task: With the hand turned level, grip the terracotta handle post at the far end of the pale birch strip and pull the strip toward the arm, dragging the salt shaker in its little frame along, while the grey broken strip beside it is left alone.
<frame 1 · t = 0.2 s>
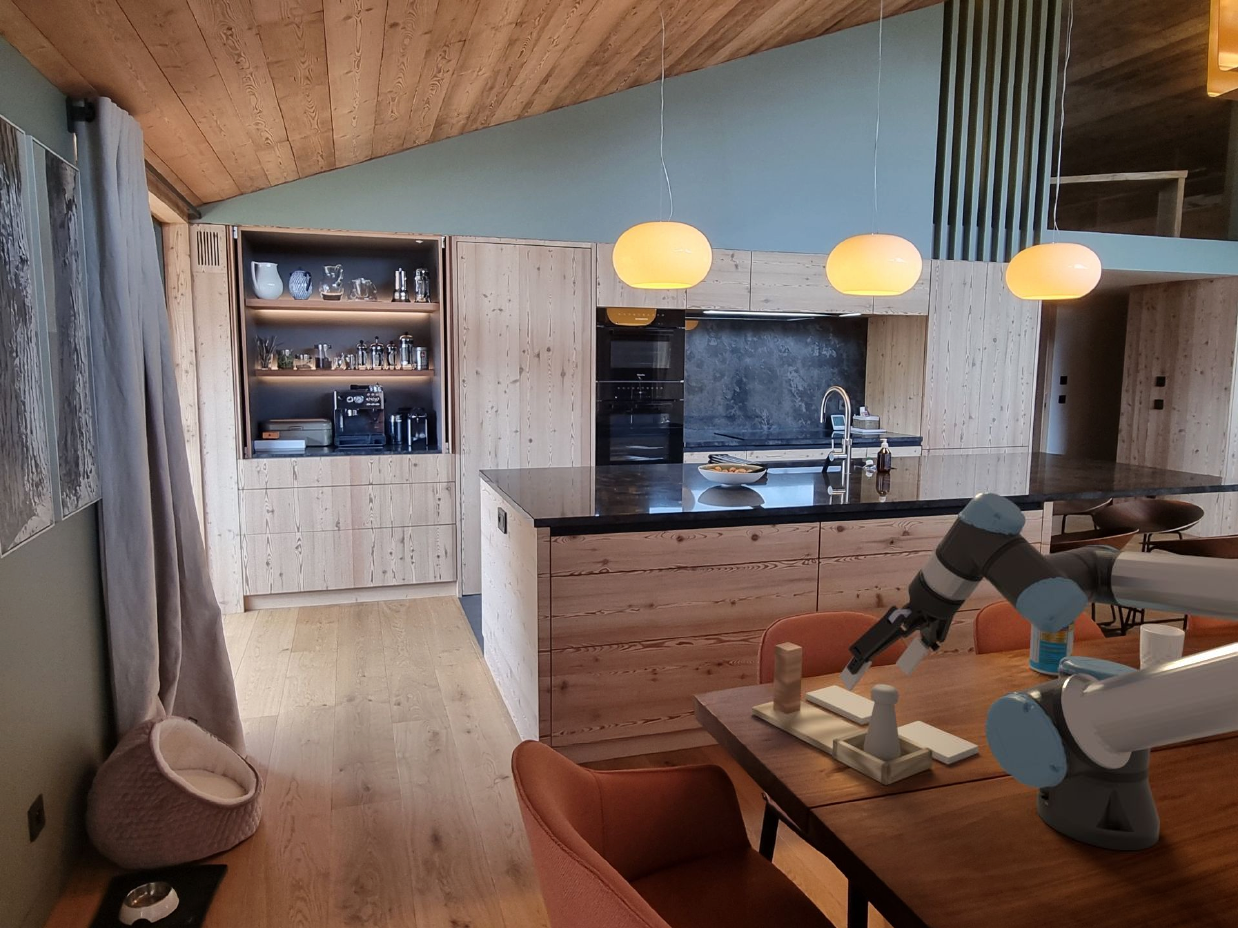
hand: (874, 676, 132), 15 cm above the table, tool tilted 35°, fingers open, 13 cm apart
birch strip: (835, 702, 142), point 7 cm above the table, slide at 0.0 cm
salt shaker: (881, 764, 134), resting in birch strip
beverage bottle: (1049, 670, 178), on the table
broken strip: (885, 723, 150), on the table
white cup: (1158, 675, 175), on the table
game die: (1150, 717, 153), on the table
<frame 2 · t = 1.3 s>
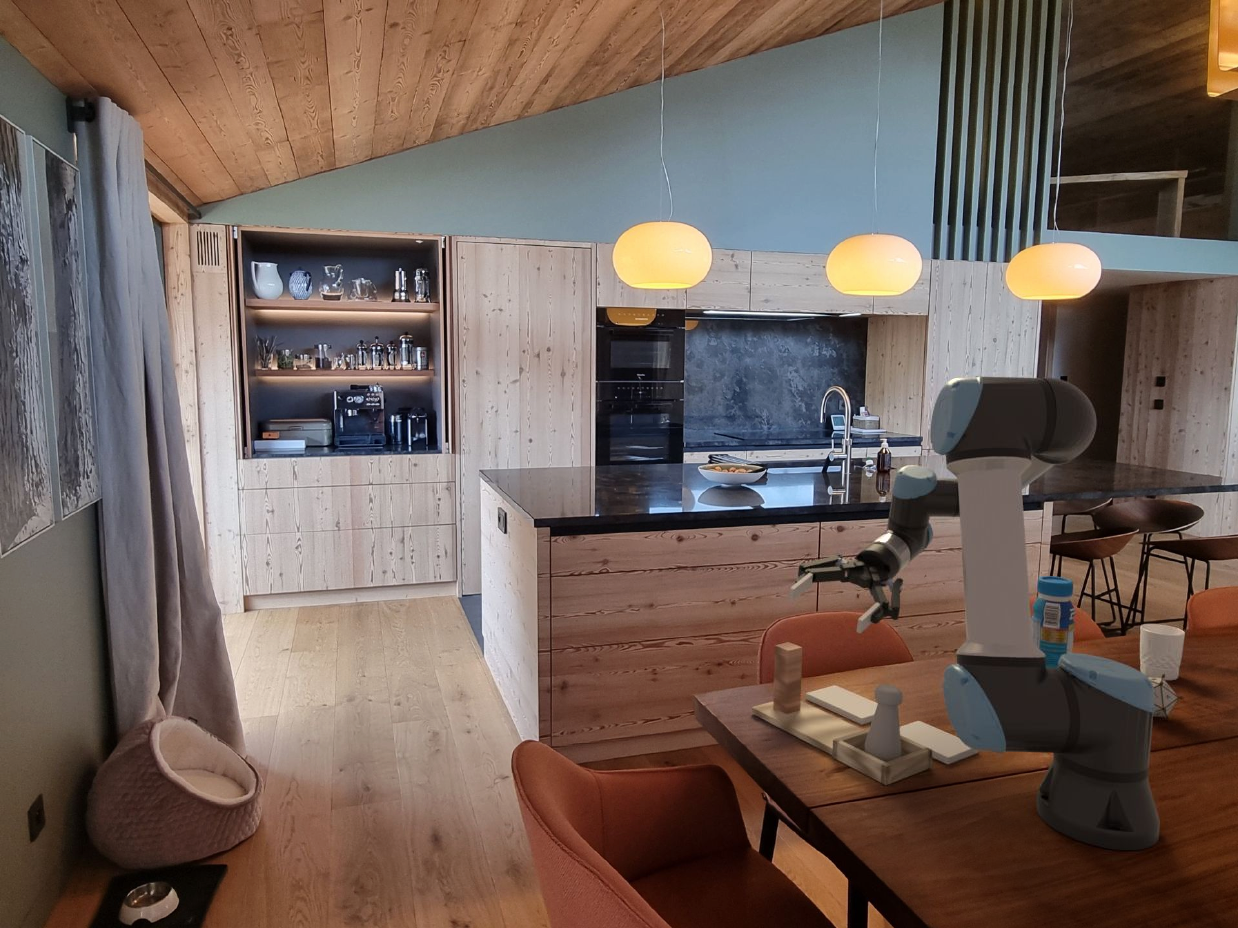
hand: (824, 610, 145), 22 cm above the table, tool tilted 75°, fingers open, 13 cm apart
nothing on the table moved.
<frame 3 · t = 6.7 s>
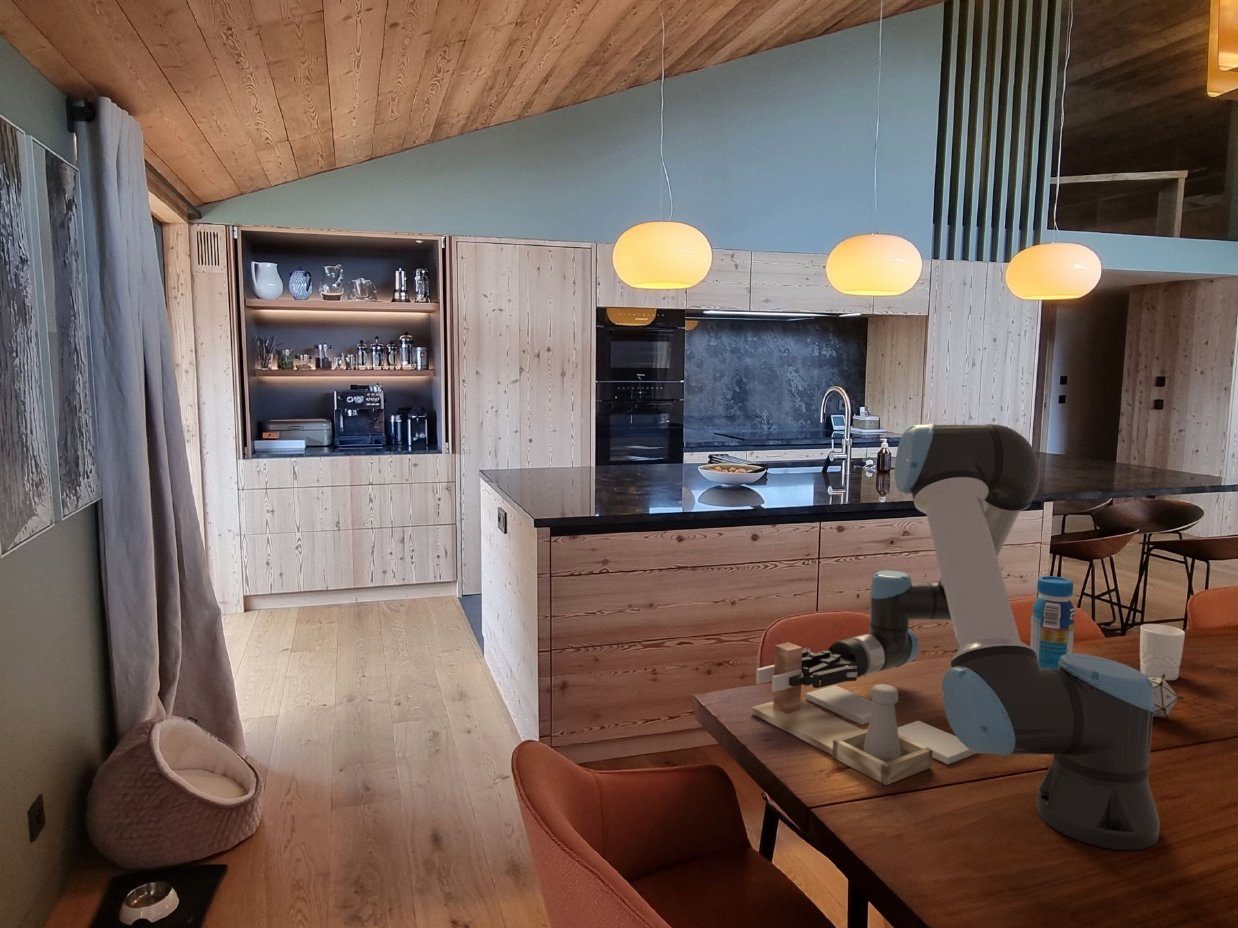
hand: (765, 680, 149), 8 cm above the table, tool horizontal, fingers closed on birch strip, 3 cm apart
birch strip: (835, 702, 142), point 7 cm above the table, slide at 0.0 cm, touching gripper
everything else where it was.
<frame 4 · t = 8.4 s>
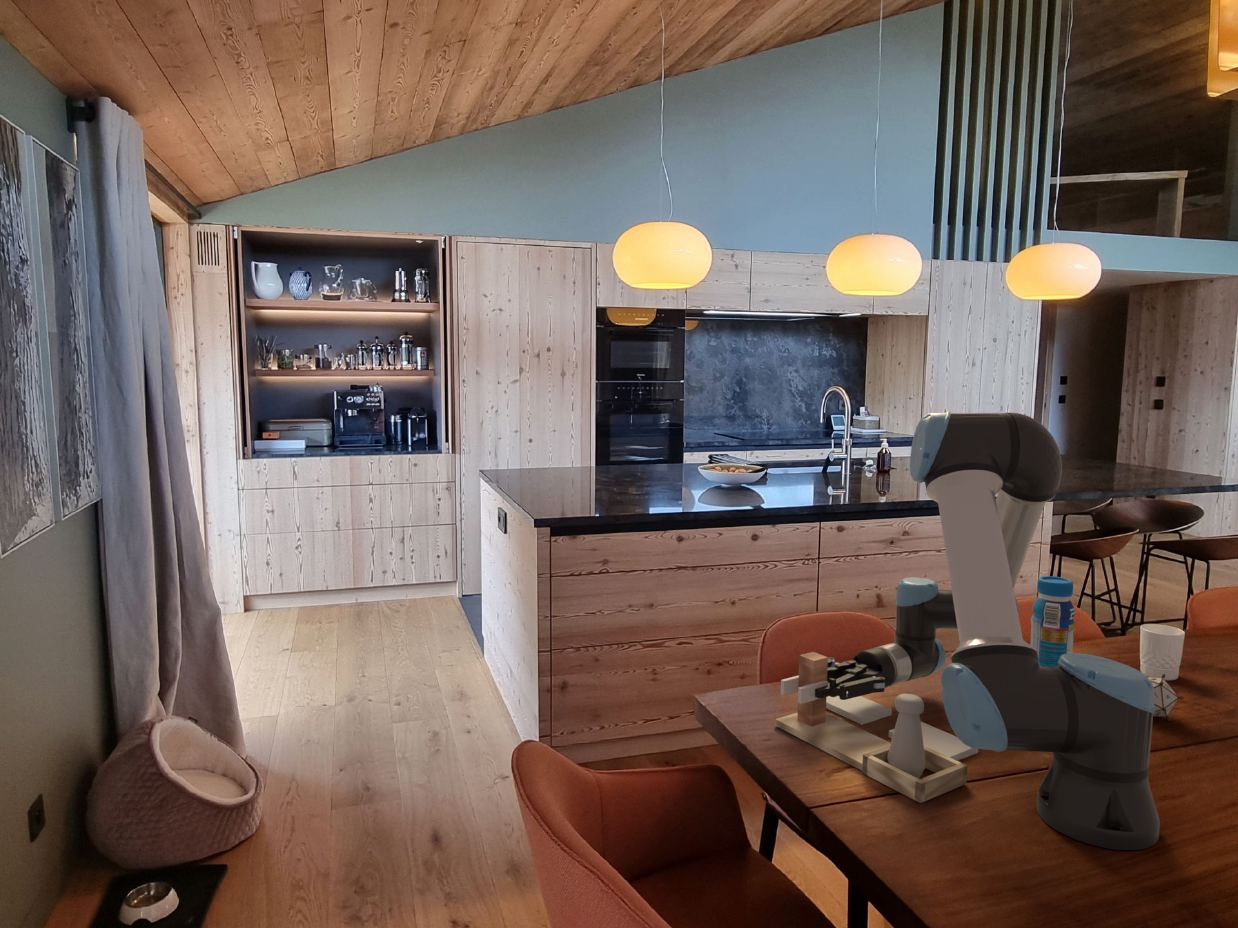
hand: (791, 691, 144), 8 cm above the table, tool horizontal, fingers closed on birch strip, 3 cm apart
birch strip: (863, 714, 137), point 7 cm above the table, slide at 6.3 cm, touching gripper, salt shaker
salt shaker: (905, 776, 130), resting in birch strip
everything else where it was.
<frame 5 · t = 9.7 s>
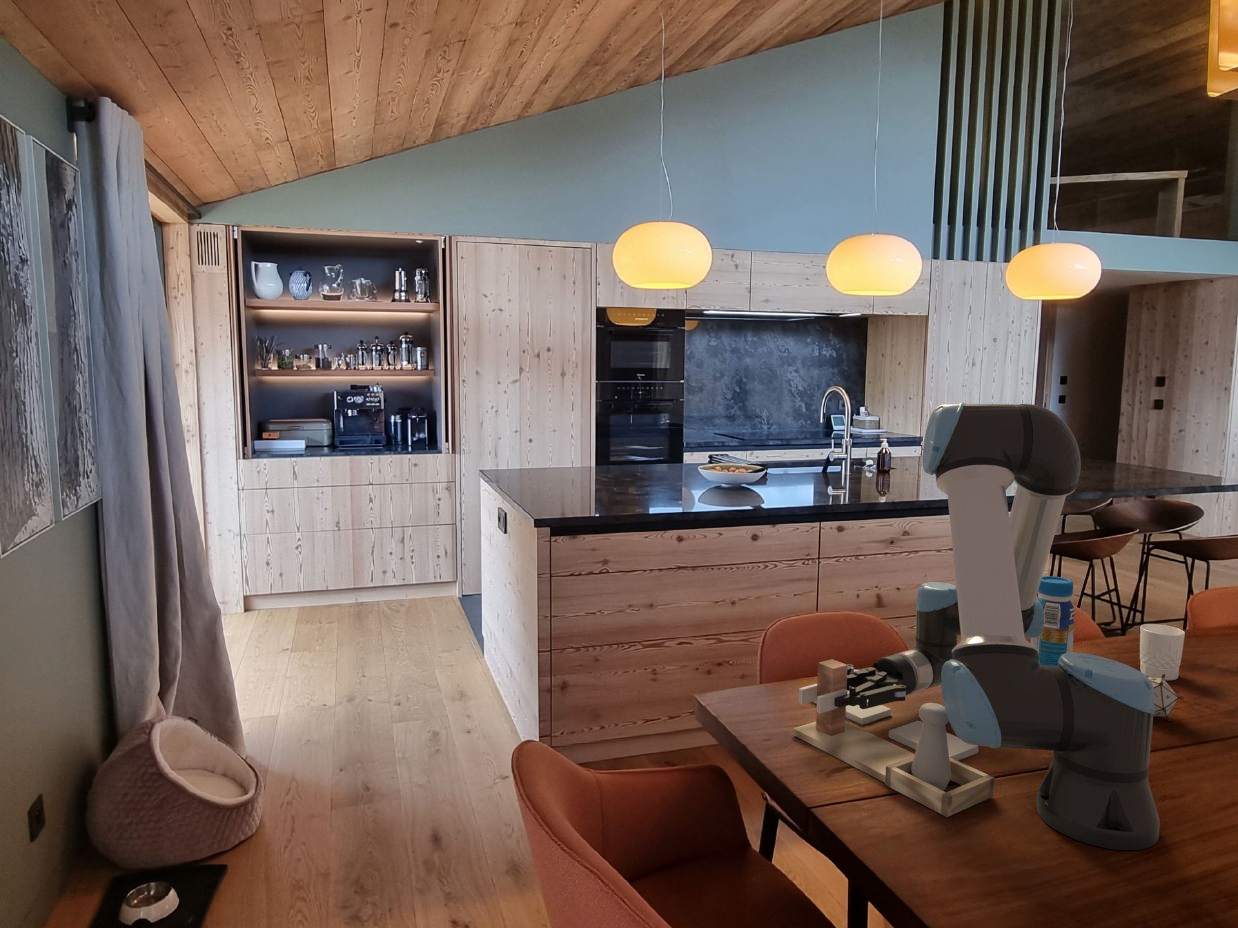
hand: (809, 700, 140), 8 cm above the table, tool horizontal, fingers closed on birch strip, 3 cm apart
birch strip: (885, 724, 133), point 7 cm above the table, slide at 10.8 cm, touching gripper, salt shaker
salt shaker: (930, 787, 127), resting in birch strip
everything else where it was.
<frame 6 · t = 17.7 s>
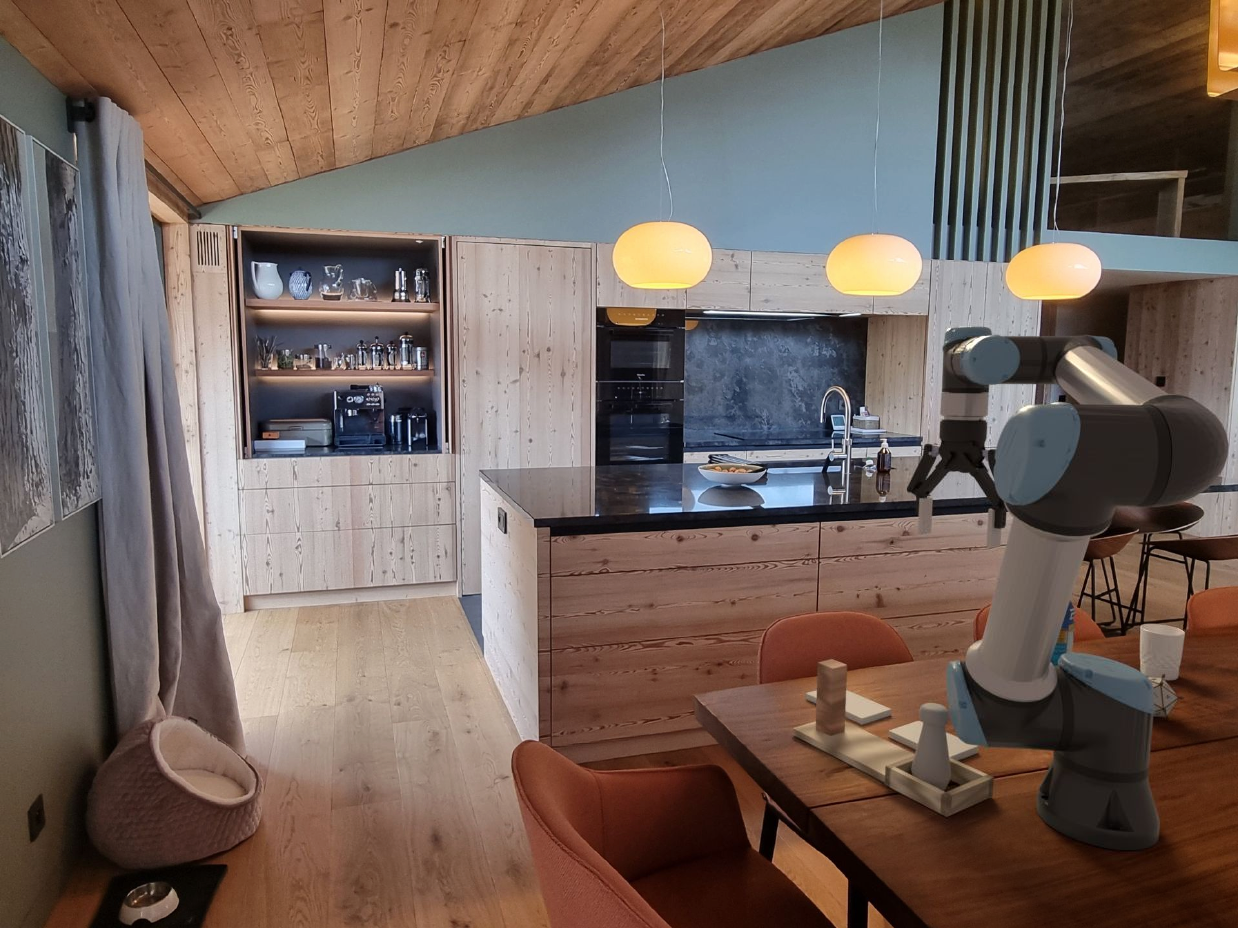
hand: (957, 540, 143), 35 cm above the table, tool pointing down, fingers open, 13 cm apart
birch strip: (885, 724, 133), point 7 cm above the table, slide at 10.8 cm
salt shaker: (930, 788, 127), resting in birch strip
everything else where it was.
at the end: birch strip slide at 10.8 cm; salt shaker inside the target area (2.3 cm from its centre), resting in birch strip; salt shaker tilted 0° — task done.
